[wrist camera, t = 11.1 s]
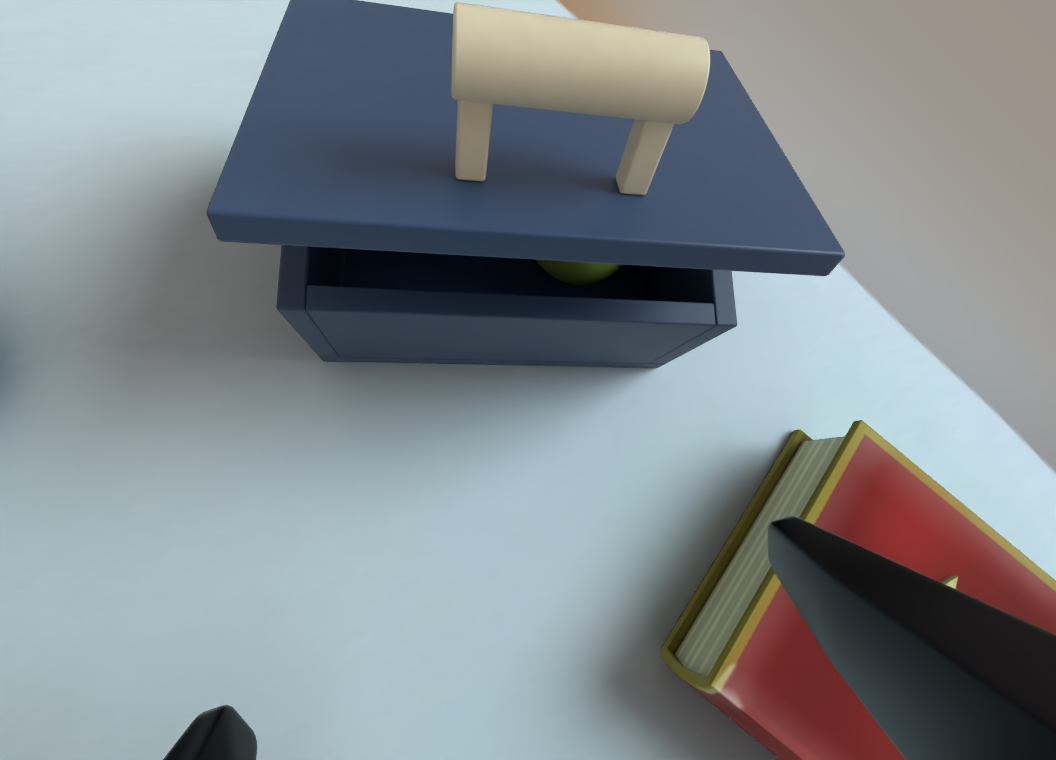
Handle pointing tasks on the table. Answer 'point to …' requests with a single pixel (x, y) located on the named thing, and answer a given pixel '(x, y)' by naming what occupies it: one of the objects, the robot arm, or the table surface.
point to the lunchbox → (495, 309)
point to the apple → (578, 271)
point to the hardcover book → (777, 626)
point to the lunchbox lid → (511, 145)
